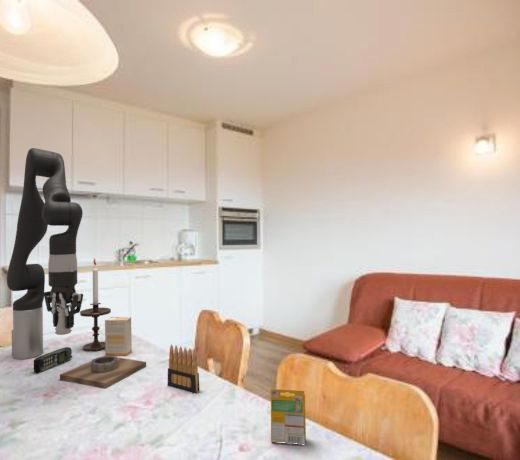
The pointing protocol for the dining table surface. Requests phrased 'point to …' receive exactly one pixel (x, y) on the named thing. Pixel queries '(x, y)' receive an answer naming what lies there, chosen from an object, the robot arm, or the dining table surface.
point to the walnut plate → (102, 379)
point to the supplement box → (118, 336)
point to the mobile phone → (52, 359)
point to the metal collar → (104, 364)
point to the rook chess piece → (61, 323)
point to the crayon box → (288, 416)
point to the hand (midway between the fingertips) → (63, 326)
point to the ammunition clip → (183, 370)
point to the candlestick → (95, 315)
